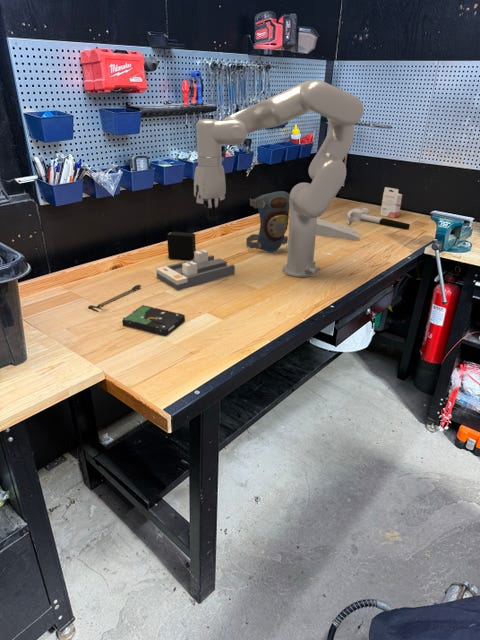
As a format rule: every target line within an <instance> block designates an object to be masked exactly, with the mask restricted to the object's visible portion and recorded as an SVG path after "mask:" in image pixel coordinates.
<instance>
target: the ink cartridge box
mask: <svg viewBox="0 0 480 640" xmlns="http://www.w3.org/2000/svg"><path fill="white" fill-rule="evenodd" d="M383 189H384V190H383V193H382V200H381V208H380V216H383V217H387V218H392V219H395V218H399V216H400V210H401V205H402V198H403V194H401V193H399V188H393V187H388V186H387V187H386V186H385V187H384V188H383Z"/></svg>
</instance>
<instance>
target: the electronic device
mask: <svg viewBox="0 0 480 640" xmlns="http://www.w3.org/2000/svg"><path fill="white" fill-rule="evenodd" d="M166 239H167V253H168V259H169V260H175V261H184V262H185V261H190V260H194V252H195V251H197V250H196V249H197V248H196V234H195V233H194V232H182V231H171V232H169V233H167V236H166Z"/></svg>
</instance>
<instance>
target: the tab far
mask: <svg viewBox="0 0 480 640" xmlns="http://www.w3.org/2000/svg"><path fill="white" fill-rule="evenodd" d="M208 256H209V252H208V251H207V250H205V249H197V250H196V251H195V252H194V259H193V260H194V261H195V263H196V264H199V263H203V262H207V261H208Z"/></svg>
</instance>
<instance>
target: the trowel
mask: <svg viewBox="0 0 480 640" xmlns="http://www.w3.org/2000/svg"><path fill="white" fill-rule="evenodd" d="M316 235H317V236H319V237H327V238H337V239H343V240H352V241H357V242H358V241H360V238H361V237H360V235H359V233H358V230H357V229H355V228H352V227H349V226H346V225H341V224H337V223H333V222H329V221H326V220H324V219H321V218H317V227H316Z"/></svg>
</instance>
